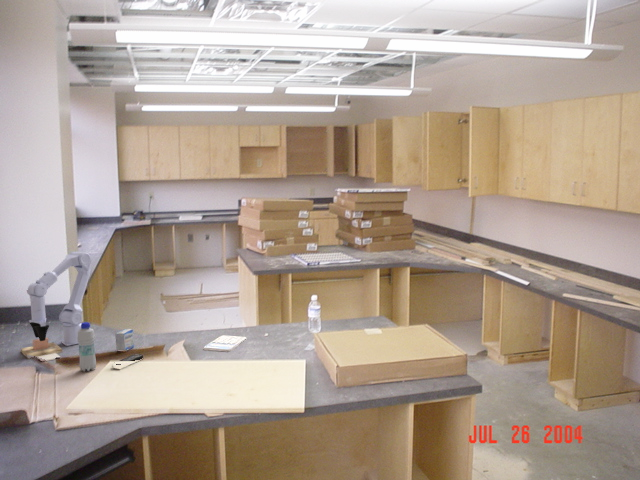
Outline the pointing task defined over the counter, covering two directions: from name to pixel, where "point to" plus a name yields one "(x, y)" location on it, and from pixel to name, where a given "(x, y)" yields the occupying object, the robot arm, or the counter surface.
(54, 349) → the gold flat square frame
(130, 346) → the medicine box
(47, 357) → the pad
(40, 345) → the peach cuboid
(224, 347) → the white book
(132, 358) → the multiport hub
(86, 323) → the bottle
